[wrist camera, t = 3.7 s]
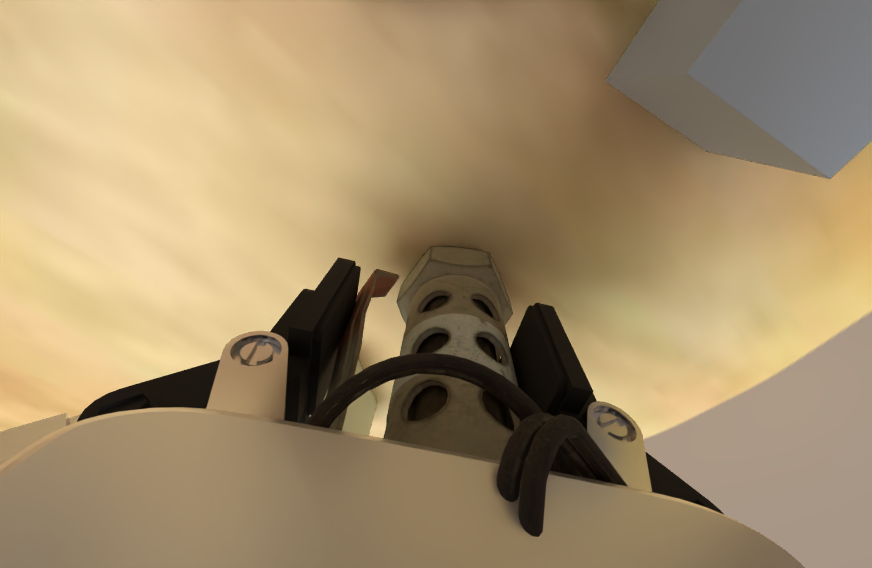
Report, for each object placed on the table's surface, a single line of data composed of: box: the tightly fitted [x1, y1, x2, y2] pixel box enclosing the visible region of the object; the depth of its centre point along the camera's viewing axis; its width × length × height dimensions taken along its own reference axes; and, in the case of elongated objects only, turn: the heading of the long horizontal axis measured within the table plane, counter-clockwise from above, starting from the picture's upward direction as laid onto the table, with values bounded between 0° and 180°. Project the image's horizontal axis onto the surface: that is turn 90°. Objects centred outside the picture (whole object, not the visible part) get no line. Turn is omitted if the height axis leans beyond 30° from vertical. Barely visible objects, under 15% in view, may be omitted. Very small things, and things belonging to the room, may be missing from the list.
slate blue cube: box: [605, 0, 872, 179], centre depth 9 cm, size 5×5×5 cm
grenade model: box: [305, 246, 628, 537], centre depth 9 cm, size 6×7×15 cm
